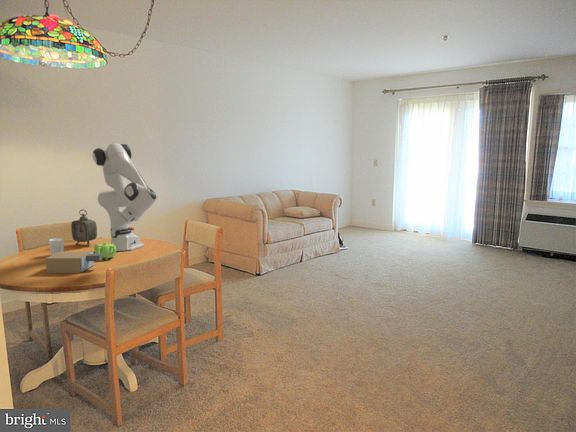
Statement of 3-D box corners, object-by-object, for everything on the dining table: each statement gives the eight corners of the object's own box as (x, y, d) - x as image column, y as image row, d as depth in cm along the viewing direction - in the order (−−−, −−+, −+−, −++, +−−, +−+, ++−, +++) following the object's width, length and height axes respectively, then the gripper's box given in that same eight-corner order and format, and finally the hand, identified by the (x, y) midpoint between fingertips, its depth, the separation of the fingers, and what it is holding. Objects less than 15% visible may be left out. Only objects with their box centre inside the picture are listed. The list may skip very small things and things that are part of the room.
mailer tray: (106, 264, 231) (105, 251, 230) (96, 271, 217) (95, 258, 216) (61, 264, 230) (60, 251, 229) (48, 272, 216) (47, 258, 215)
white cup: (63, 256, 250) (61, 240, 249) (48, 257, 248) (47, 241, 247) (66, 253, 258) (64, 237, 256) (52, 254, 256) (50, 238, 254)
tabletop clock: (72, 245, 278) (69, 209, 274) (83, 243, 286) (81, 208, 282) (88, 247, 273) (85, 211, 269) (99, 244, 281) (96, 209, 277)
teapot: (117, 259, 244) (116, 243, 242) (96, 261, 238) (95, 245, 237) (114, 255, 254) (113, 239, 252) (94, 257, 248) (93, 241, 247)
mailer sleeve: (92, 265, 231) (91, 251, 229) (80, 272, 217) (79, 258, 215) (60, 265, 230) (58, 251, 229) (46, 272, 216) (45, 258, 215)
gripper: (134, 206, 230) (118, 224, 231) (121, 211, 209) (103, 230, 210) (143, 214, 230) (126, 231, 231) (130, 220, 210) (112, 238, 211)
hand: (115, 231), depth 221 cm, fingers open, 8 cm apart
